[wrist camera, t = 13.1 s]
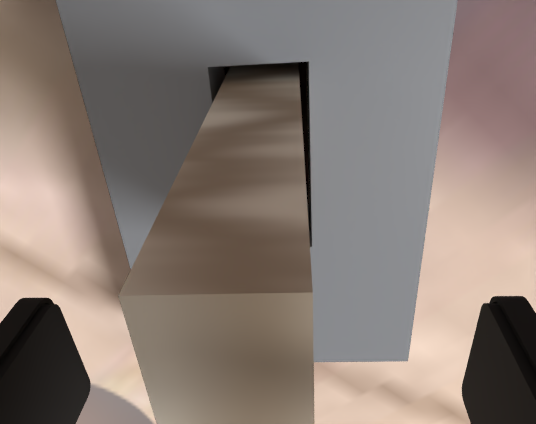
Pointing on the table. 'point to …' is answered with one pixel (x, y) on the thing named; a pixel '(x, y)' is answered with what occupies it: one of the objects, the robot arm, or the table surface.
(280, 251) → the pine slat
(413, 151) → the grey slotted tile
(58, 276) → the table surface
